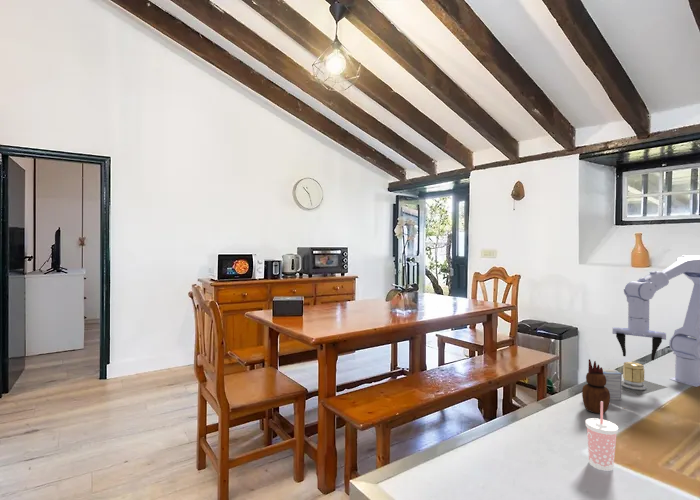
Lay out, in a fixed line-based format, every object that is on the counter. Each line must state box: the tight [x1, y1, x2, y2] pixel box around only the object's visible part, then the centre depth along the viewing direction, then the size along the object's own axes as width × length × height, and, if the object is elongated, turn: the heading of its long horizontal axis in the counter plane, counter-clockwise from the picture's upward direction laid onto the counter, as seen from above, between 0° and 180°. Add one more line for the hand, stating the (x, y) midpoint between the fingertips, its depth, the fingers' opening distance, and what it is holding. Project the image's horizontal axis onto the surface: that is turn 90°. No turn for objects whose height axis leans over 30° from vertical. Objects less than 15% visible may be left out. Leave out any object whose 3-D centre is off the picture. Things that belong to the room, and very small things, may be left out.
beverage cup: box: [584, 401, 619, 472], centre depth 87 cm, size 6×6×14 cm
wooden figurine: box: [581, 359, 611, 414], centre depth 114 cm, size 7×6×15 cm
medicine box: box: [587, 368, 623, 401], centre depth 124 cm, size 8×4×9 cm, turn 84°
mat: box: [621, 379, 667, 396], centre depth 133 cm, size 16×10×1 cm, turn 115°
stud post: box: [622, 378, 647, 391], centre depth 132 cm, size 7×7×6 cm
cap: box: [622, 361, 645, 383], centre depth 132 cm, size 5×5×5 cm
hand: (638, 357), depth 134 cm, fingers open, 7 cm apart
